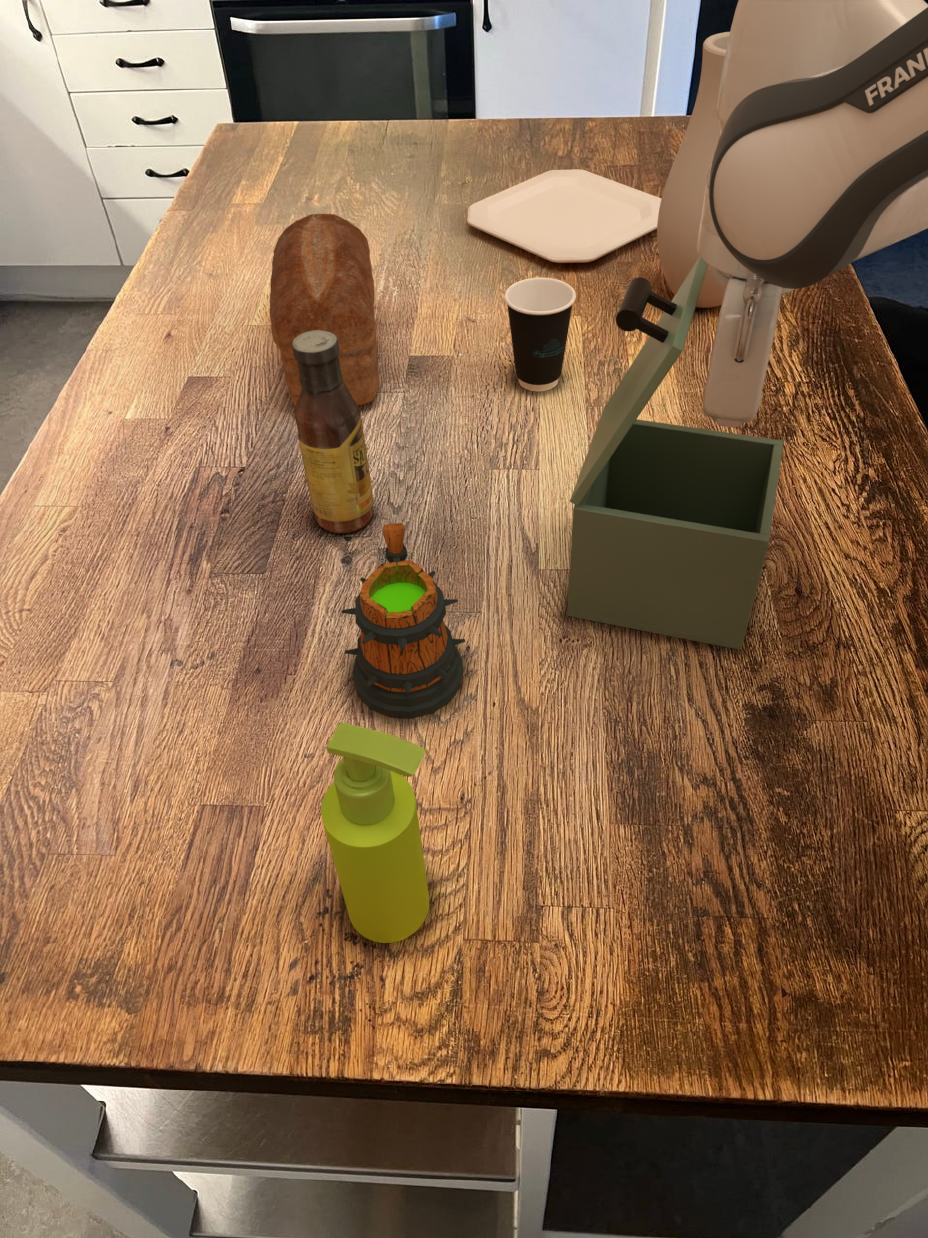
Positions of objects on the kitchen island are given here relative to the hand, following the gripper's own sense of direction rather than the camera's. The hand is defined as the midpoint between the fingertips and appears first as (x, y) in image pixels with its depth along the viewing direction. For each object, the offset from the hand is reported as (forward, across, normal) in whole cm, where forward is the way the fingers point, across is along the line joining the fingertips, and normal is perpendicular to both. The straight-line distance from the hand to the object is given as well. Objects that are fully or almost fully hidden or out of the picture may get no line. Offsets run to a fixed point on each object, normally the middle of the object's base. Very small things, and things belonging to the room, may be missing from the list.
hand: (732, 401), depth 75 cm
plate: (+21, +71, +29) cm, 79 cm away
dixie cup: (+21, +30, +23) cm, 43 cm away
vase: (+21, +54, +7) cm, 58 cm away
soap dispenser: (+21, -38, +16) cm, 46 cm away
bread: (+21, +29, +49) cm, 61 cm away
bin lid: (0, 0, +7) cm, 7 cm away
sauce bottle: (+21, +1, +36) cm, 41 cm away
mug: (+21, -16, +23) cm, 35 cm away
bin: (+20, 0, +3) cm, 21 cm away
